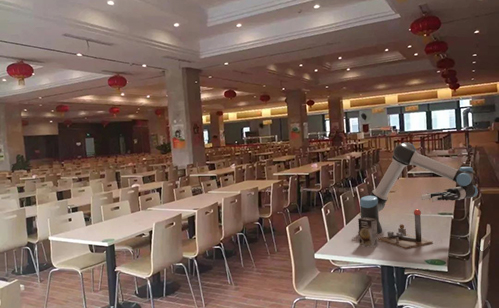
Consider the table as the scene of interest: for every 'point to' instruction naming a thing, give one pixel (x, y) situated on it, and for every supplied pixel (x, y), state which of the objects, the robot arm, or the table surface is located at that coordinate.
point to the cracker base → (404, 240)
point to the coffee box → (368, 232)
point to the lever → (417, 229)
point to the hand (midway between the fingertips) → (427, 198)
